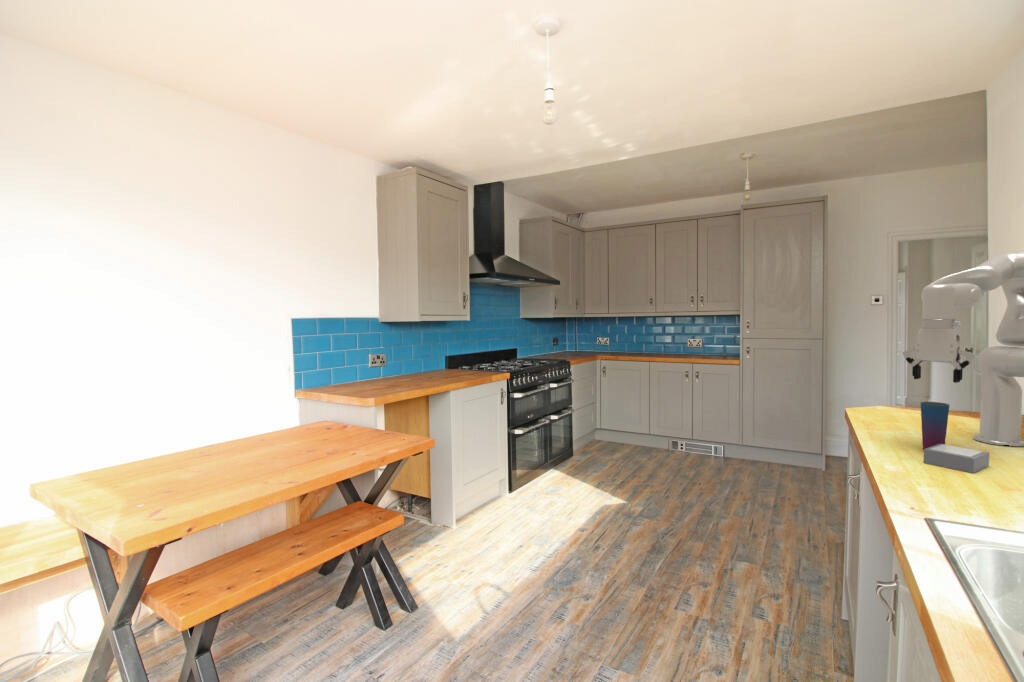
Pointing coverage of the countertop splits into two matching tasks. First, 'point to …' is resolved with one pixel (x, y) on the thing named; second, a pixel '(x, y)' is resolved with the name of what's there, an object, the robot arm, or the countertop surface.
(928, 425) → the cup
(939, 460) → the riser
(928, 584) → the countertop surface
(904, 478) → the countertop surface
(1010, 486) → the countertop surface
